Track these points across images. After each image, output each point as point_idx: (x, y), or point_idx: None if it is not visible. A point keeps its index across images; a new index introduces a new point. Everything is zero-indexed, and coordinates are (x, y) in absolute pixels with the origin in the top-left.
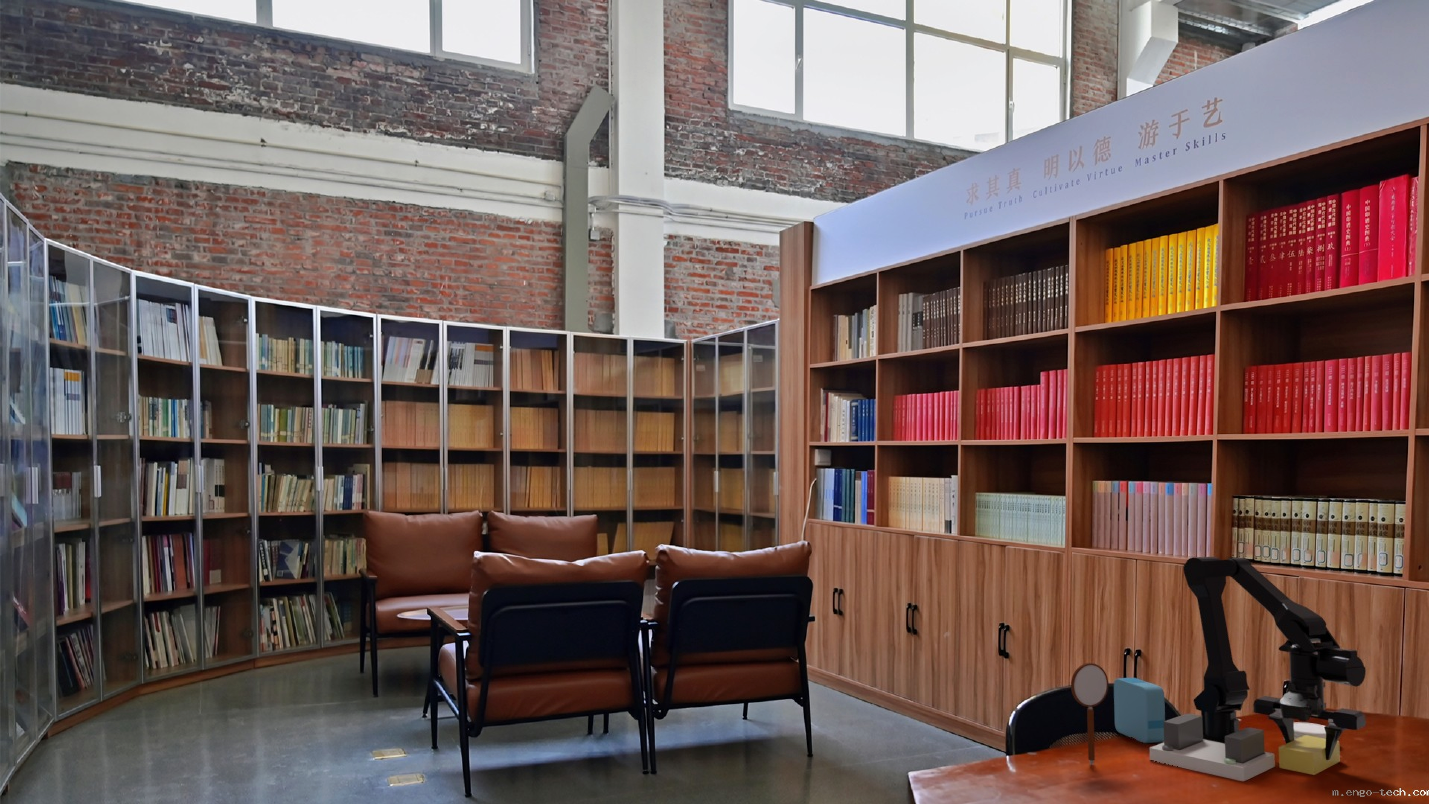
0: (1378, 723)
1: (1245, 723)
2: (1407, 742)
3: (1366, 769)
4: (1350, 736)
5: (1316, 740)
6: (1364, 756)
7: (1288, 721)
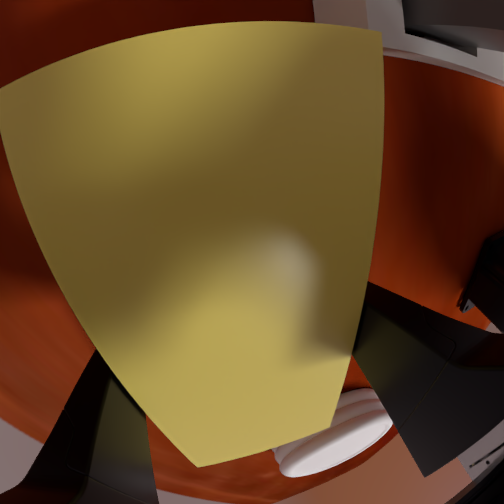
0: (282, 492)
1: None
2: (211, 496)
3: None
4: None
5: (261, 427)
6: None
7: (451, 424)
